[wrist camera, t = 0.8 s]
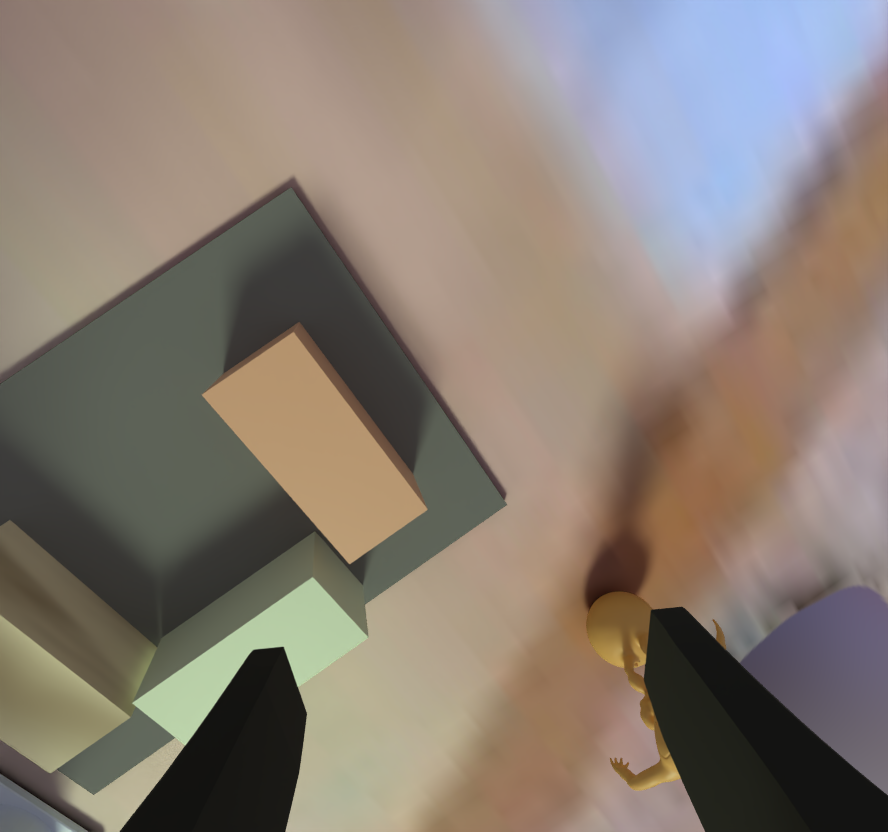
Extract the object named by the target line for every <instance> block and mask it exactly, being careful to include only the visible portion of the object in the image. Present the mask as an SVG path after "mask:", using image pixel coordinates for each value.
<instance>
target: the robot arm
mask: <svg viewBox="0 0 888 832" xmlns="http://www.w3.org/2000/svg"><path fill="white" fill-rule="evenodd" d="M644 683H645V686H646V689H647V692H648V695H649V698H650V701H651V704H652V707H653V710H654V713H655V716H656V719H657V722H658V725H659V728H660V731H661V734H662V737H663V739H664V741H665V744H666V746H667V748H668V750H669V753H670V755H671V757H672V759H673V762H674V764H675V766H676V768H677V771H678V773H679V775H680V777H681V779H682V782H683V784H684V786H685V788H686V791H687V793H688V795H689V797H690V799H691V802H692V804H693V806H694V808H695V810H696V813H697V815H698V817H699V819H700V821H701V824H702V826H703V828H704V830H705V832H888V795H887V794H885V793H884V792H883V791H882V790H880V789H879V788H878V787H877V786H876V785H874V784H873V783H872V782H871V781H870V780H868V779H867V778H866V777H865V776H864V775H862V774H861V773H860V772H859V771H858V770H856V769H855V768H854V767H853V766H852V765H850V764H849V763H848V762H847V761H846V760H845V759H843V758H842V757H841V756H840V755H839V754H838V753H837V752H835V751H834V750H833V749H832V748H831V747H830V746H828V745H827V744H826V743H825V742H824V741H823V740H821V739H820V738H819V737H818V736H817V735H816V734H815V733H814V732H813V731H811V730H810V729H809V728H808V727H807V726H806V725H805V724H804V723H802V722H801V721H800V720H799V719H798V718H797V717H796V716H795V715H794V714H793V713H792V712H791V711H789V710H788V709H787V708H786V707H785V706H784V705H783V704H782V703H781V702H779V700H778V699H777V698H775V697H774V696H773V695H772V694H771V693H770V692H769V691H768V690H767V689H766V688H765V687H763V685H762V684H760V683H759V682H758V681H757V680H756V679H755V678H754V677H753V676H752V675H751V674H750V673H749V672H748V671H747V670H746V669H745V668H744V667H743V666H742V665H741V664H740V663H739V662H738V661H737V660H736V659H735V658H734V657H733V656H732V655H731V654H730V653H729V652H728V651H727V650H726V649H725V648H724V647H723V646H722V645H721V644H720V643H719V642H718V641H717V640H716V639H715V638H714V637H713V636H712V635H711V634H710V633H709V632H708V631H707V630H706V629H705V628H704V627H703V626H702V625H701V624H700V623H699V622H698V621H697V620H696V619H695V618H694V617H693V616H692V615H691V614H690V613H689V612H688V611H687V610H686V609H685V608H683V607H675V608H665V609H655V610H651V613H650V623H649V633H648V644H647V654H646V664H645V674H644ZM306 717H307V712H306V709H305V707H304V704H303V701H302V698H301V695H300V692H299V689H298V686H297V683H296V681H295V678H294V675H293V672H292V669H291V666H290V663H289V660H288V657H287V654H286V652H285V649H284V647H274V648H264V649H254V650H253V651H252V652H251V653H250V654H249V655H248V657H247V658H246V660H245V661H244V662H243V664H242V665H241V667H240V668H239V670H238V671H237V673H236V674H235V676H234V677H233V679H232V680H231V681H230V683H229V684H228V686H227V687H226V689H225V690H224V692H223V693H222V695H221V696H220V697H219V699H218V700H217V702H216V703H215V705H214V706H213V708H212V709H211V710H210V712H209V713H208V715H207V716H206V718H205V719H204V720H203V722H202V723H201V725H200V726H199V727H198V729H197V730H196V732H195V733H194V734H193V736H192V737H191V738H190V740H189V741H188V743H187V744H186V745H185V747H184V748H183V749H182V751H181V752H180V754H179V755H178V756H177V758H176V759H175V760H174V762H173V763H172V765H171V766H170V767H169V769H168V770H167V771H166V773H165V774H164V775H163V777H162V778H161V779H160V781H159V782H158V783H157V784H156V786H155V787H154V788H153V790H152V791H151V792H150V793H149V795H148V796H147V797H146V798H145V800H144V801H143V802H142V804H141V805H140V806H139V807H138V809H137V810H136V811H135V813H134V814H133V815H132V816H131V818H130V819H129V820H128V822H127V823H126V824H125V825H124V827H123V828H122V829H121V830H120V832H285V830H286V826H287V822H288V818H289V814H290V809H291V805H292V801H293V797H294V792H295V788H296V784H297V779H298V775H299V770H300V763H301V756H302V749H303V741H304V733H305V725H306ZM0 832H88V831H87V830H85V829H84V828H82V827H81V826H79V825H78V824H76V823H74V822H73V821H71V820H70V819H68V818H67V817H65V816H64V815H62V814H61V813H59V812H58V811H56V810H55V809H53V808H52V807H50V806H49V805H47V804H45V803H44V802H42V801H41V800H39V799H38V798H36V797H35V796H33V795H32V794H30V793H29V792H27V791H26V790H24V789H23V788H21V787H20V786H18V785H17V784H15V783H13V782H12V781H10V780H9V779H7V778H6V777H4V776H3V775H1V774H0Z"/></svg>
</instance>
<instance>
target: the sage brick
mask: <svg viewBox="0 0 888 832" xmlns="http://www.w3.org/2000/svg"><path fill="white" fill-rule="evenodd" d="M367 638H368V629H367V619H366V610H365V601H364V592H363V585H362V584H361V583H360V582H359V581H358V579H357V578H356V577H355V576H354V575H353V574H352V573H351V571H350V570H349V569H348V568H347V567H346V566H345V565H344V563H343V562H342V561H341V560H340V559H339V558H338V557H337V555H336V554H335V553H334V552H333V551H332V550H331V549H330V548H329V546H328V545H327V544H326V543H325V542H324V541H323V540H322V538H321V537H320V536H319V535H318V534H317V533H316V532H313V533H312V534H310V535H309V536H307V537H306V538H304V539H303V540H302V541H300V542H299V543H297V544H296V545H294V546H293V547H292V548H290V549H289V550H287V551H286V552H284V553H283V554H281V555H280V556H279V557H277V558H276V559H274V560H273V561H271V562H270V563H269V564H267V565H266V566H264V567H263V568H261V569H260V570H258V571H257V572H256V573H254V574H253V575H251V576H250V577H248V578H247V579H246V580H244V581H243V582H241V583H240V584H238V585H237V586H235V587H234V588H233V589H231V590H230V591H228V592H227V593H225V594H224V595H223V596H221V597H220V598H218V599H217V600H215V601H214V602H213V603H211V604H210V605H208V606H207V607H205V608H204V609H202V610H201V611H200V612H198V613H197V614H195V615H194V616H192V617H191V618H190V619H188V620H187V621H185V622H184V623H182V624H181V625H179V626H178V627H177V628H175V629H174V630H172V631H171V632H169V633H168V634H167V635H165V636H164V637H162V638H161V641H160V643H159V645H158V647H157V649H156V652H155V654H154V656H153V658H152V660H151V663H150V665H149V667H148V669H147V671H146V674H145V676H144V678H143V680H142V682H141V685H140V687H139V689H138V691H137V693H136V696H135V698H134V700H133V702H132V704H134V705H135V706H136V707H137V708H139V709H140V710H141V711H143V712H144V713H145V714H146V715H148V716H149V717H150V718H151V719H153V720H154V721H155V722H156V723H158V724H159V725H160V726H161V727H163V728H164V729H165V730H166V731H168V732H169V733H170V734H171V735H173V736H174V737H175V738H176V739H178V740H179V741H180V742H181V743H183V744H184V745H186V744H187V743H188V741H189V740H190V738H191V737H192V736H193V734H194V733H195V732H196V730H197V729H198V727H199V726H200V725H201V723H202V722H203V720H204V719H205V718H206V716H207V715H208V713H209V712H210V710H211V709H212V708H213V706H214V705H215V703H216V702H217V700H218V699H219V697H220V696H221V695H222V693H223V692H224V690H225V689H226V687H227V686H228V684H229V683H230V681H231V680H232V679H233V677H234V676H235V674H236V673H237V671H238V670H239V668H240V667H241V665H242V664H243V662H244V661H245V660H246V658H247V657H248V655H249V654H250V653H251V652H252V651H253V650H254V649H264V648H274V647H284V649H285V652H286V654H287V657H288V660H289V663H290V666H291V669H292V672H293V675H294V678H295V681H296V683H297V686H298V687H299V686H300V685H302V684H303V683H305V682H306V681H308V680H309V679H310V678H312V677H313V676H315V675H316V674H317V673H319V672H320V671H322V670H323V669H325V668H326V667H327V666H329V665H330V664H332V663H333V662H335V661H336V660H337V659H339V658H340V657H342V656H343V655H344V654H346V653H347V652H349V651H350V650H352V649H353V648H354V647H356V646H357V645H359V644H360V643H362V642H363V641H364V640H366V639H367Z"/></svg>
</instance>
